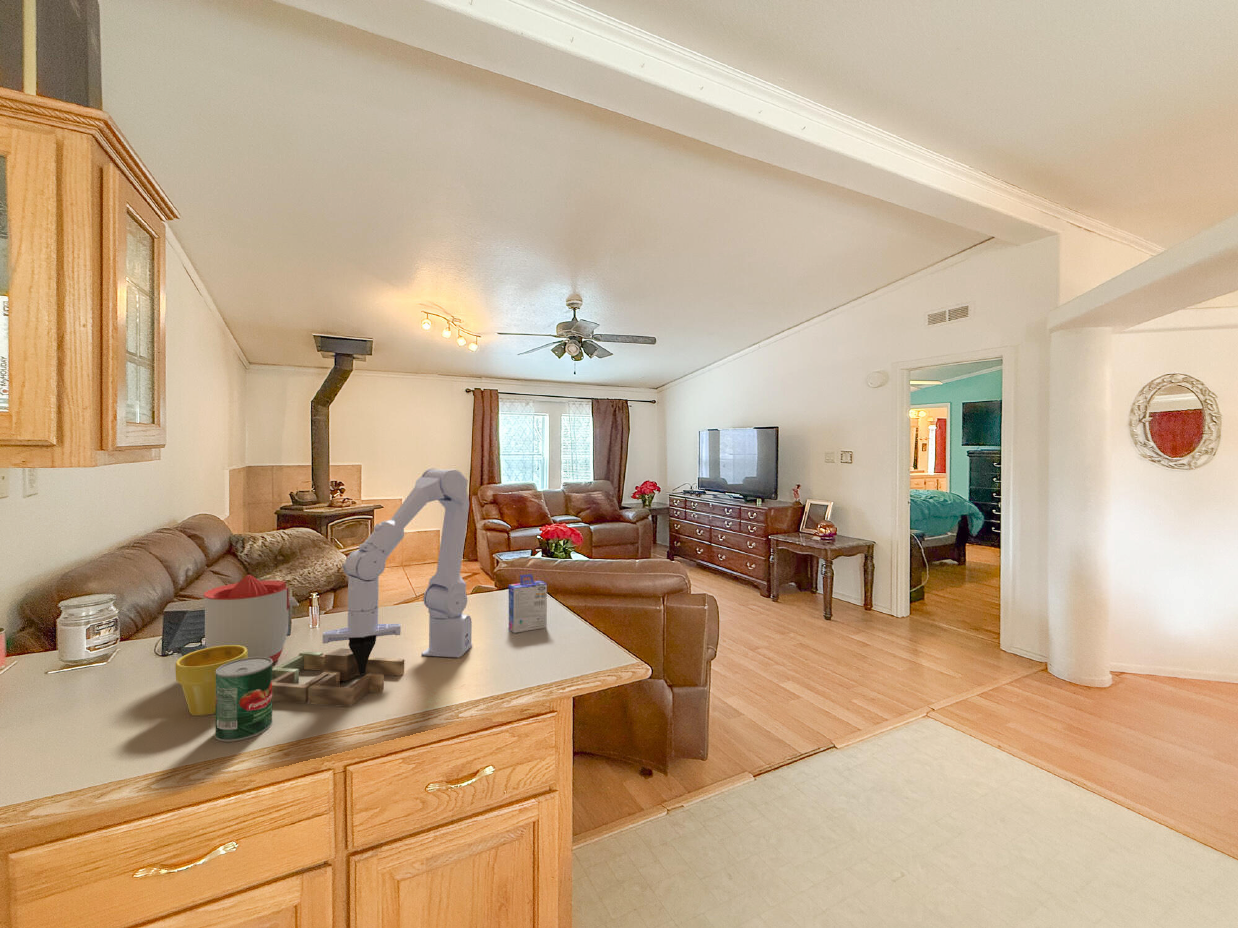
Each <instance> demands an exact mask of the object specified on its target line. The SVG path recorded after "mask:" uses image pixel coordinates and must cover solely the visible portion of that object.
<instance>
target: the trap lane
mask: <svg viewBox="0 0 1238 928" xmlns="http://www.w3.org/2000/svg"><path fill="white" fill-rule="evenodd" d="M324 660H325V653H324V652H321V651H320V652H319V651H304V650H303V651H301V652H299V653H298V655H296V656H294V657H293V658H291V659H289V660H287V661H286V662H283V663H281V664H279V665H277V666H276V667H274V668H272V671H273V672H272V702H280V703H292V704H293V703H294V704H309V705H323V706H334V707H335V706H336V707H348V708H349V707H352V706H353V705H354V704H355V703H356V702H358V701H359V700H360V699H362V698H363V697H364V696H366V695H367V694H368V693H370V692H371V693H374V692H375V693H381V692H382V691H384V690H385V687H384V686H385V675H390V676H402V675H404V674H405V659H403V658H402V659H401V658H390V657H389V658H387V657H373V656H371V657H370V656H369V658H368V661H367V665H366V671H365V674H364V676H362V677H361V678H359V679H358V680H356V681H355V682H354V683H352V684H351V685H350V686H348V687H347V686H346V687H344V686H341V684H340V682H341V681H340V672H335V671H325V672H324ZM304 670H311V671H312V670H314V671H323V672H322V673H320V674H318V675H317V676H315V677H314V678H311V679H310V680H309V681H307V682H305V683H304V684H303V683H300V677H299V676H300V672H301V671H304Z"/></svg>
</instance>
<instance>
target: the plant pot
mask: <svg viewBox="0 0 1238 928" xmlns="http://www.w3.org/2000/svg"><path fill="white" fill-rule="evenodd" d="M244 658H248V652H247V648H246V647H244V646H240V645H223V646H215V647H210V648H207V647H205V648H203V649H202V648H201V649H198V650H195V651H194V650H193V651H192V652H189V653H188V654H185V655H182V656H181V657H179V658H178V659H177V660H176V662H175V667H174V669H175V670H174V671H175V681H176V682H177V683H178V684H180V685H181V688H182V691H183V695H184V698H185V701H186V704H187V707H188V711H189V712H188V713H190V715H192V716H195V717H199V716H200V717H201V716H209V715H214V714H216V712H215V710H216V707H215V705H216V702H215V701H216V697H215V696H216V692H215V691H216V674H215V671H216V669H218V668H219V667H220V666H222V665H224V664H226V663H229V662H232V661H235V660H239V659H244Z"/></svg>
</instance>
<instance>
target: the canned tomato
mask: <svg viewBox="0 0 1238 928" xmlns="http://www.w3.org/2000/svg"><path fill="white" fill-rule="evenodd" d="M273 664H274V663H273V661H272V659H271V658H268V657H250V658H244V659H239V660H235V661H232V662H229V663H226V664H224V665H222V666H220V667H219V668H218V669H216V671H215V674H216V691H215V692H216V696H215V697H216V701H215V702H216V705H215V707H216V710H215V712H216V713H214V714H215V734H214V737H215V740H217V741H219V742H223V743H231V742H232V743H234V742H239V741H244V740H247V739H251V738H253V737H256V736H258V735H260V734H262V733H265V732H266V731H267V730H268V729H270V728H271V726H272V725H273V701H272V672H273V671H272V669H273Z"/></svg>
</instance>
